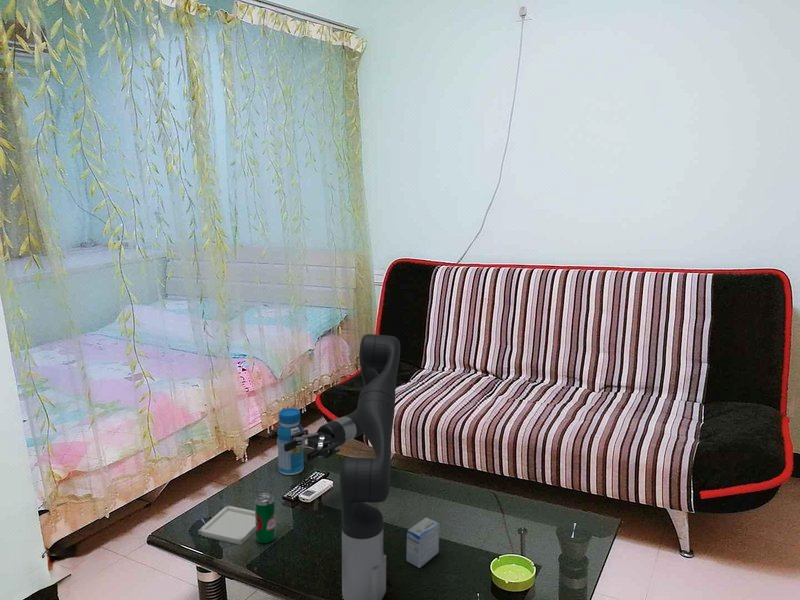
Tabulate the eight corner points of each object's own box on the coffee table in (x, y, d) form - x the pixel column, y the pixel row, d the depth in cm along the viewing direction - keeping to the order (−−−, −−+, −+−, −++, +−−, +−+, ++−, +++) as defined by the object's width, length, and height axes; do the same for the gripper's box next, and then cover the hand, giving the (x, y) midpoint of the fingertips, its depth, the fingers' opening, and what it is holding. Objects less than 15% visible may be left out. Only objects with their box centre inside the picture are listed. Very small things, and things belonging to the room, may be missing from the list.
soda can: (271, 545, 154) (269, 503, 151) (252, 543, 155) (250, 501, 152) (278, 534, 159) (277, 493, 156) (260, 532, 160) (259, 491, 157)
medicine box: (425, 546, 154) (425, 516, 153) (439, 553, 152) (440, 522, 150) (405, 561, 148) (406, 530, 147) (420, 569, 146) (420, 536, 144)
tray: (267, 518, 166) (267, 513, 166) (241, 545, 154) (241, 540, 154) (227, 510, 170) (226, 505, 170) (198, 535, 158) (198, 530, 158)
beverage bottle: (275, 475, 190) (273, 416, 186) (281, 463, 198) (279, 406, 194) (301, 476, 190) (300, 417, 186) (306, 463, 198) (305, 406, 194)
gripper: (319, 414, 177) (277, 432, 165) (355, 427, 169) (313, 447, 156) (320, 438, 179) (278, 458, 166) (355, 451, 170) (314, 473, 158)
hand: (295, 452), depth 161 cm, fingers open, 8 cm apart
